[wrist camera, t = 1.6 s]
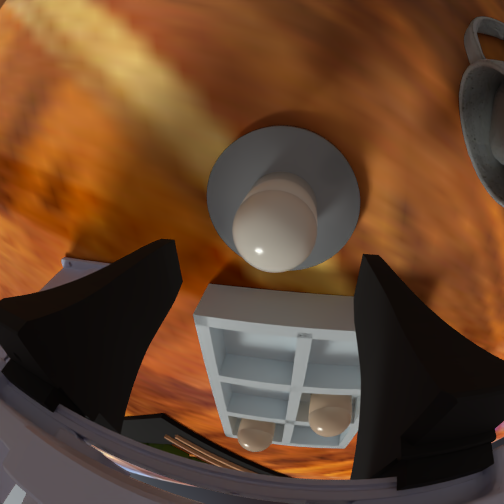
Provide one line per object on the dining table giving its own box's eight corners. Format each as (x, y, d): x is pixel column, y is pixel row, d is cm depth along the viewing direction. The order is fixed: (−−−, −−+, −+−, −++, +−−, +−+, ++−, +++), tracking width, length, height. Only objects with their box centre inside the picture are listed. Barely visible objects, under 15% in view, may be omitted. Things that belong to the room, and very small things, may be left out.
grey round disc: (218, 256, 20) (213, 264, 19) (206, 126, 15) (200, 128, 15) (347, 267, 18) (349, 275, 18) (363, 130, 14) (367, 132, 13)
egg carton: (232, 414, 33) (225, 436, 30) (209, 283, 22) (192, 314, 19) (345, 425, 30) (344, 448, 27) (405, 299, 19) (415, 332, 16)
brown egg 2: (308, 397, 26) (303, 441, 21) (313, 376, 24) (309, 425, 19) (346, 399, 25) (345, 443, 21) (356, 378, 23) (356, 427, 19)
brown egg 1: (244, 416, 31) (235, 452, 26) (242, 402, 29) (232, 441, 24) (277, 421, 30) (269, 458, 26) (278, 407, 28) (270, 447, 24)
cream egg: (248, 234, 18) (225, 285, 13) (246, 170, 15) (218, 204, 11) (314, 238, 17) (313, 293, 12) (318, 173, 15) (321, 209, 10)
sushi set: (310, 481, 52) (308, 496, 48) (197, 479, 73) (194, 489, 69) (164, 409, 39) (155, 431, 35) (85, 416, 60) (79, 427, 56)
